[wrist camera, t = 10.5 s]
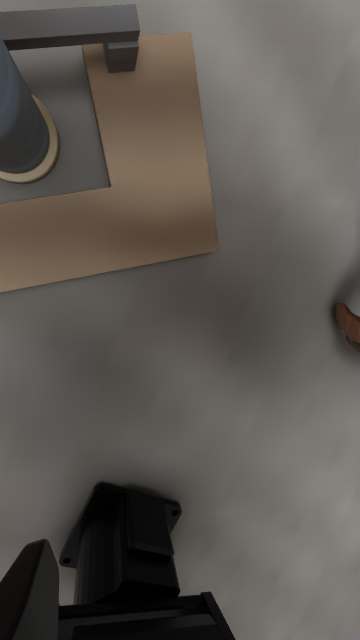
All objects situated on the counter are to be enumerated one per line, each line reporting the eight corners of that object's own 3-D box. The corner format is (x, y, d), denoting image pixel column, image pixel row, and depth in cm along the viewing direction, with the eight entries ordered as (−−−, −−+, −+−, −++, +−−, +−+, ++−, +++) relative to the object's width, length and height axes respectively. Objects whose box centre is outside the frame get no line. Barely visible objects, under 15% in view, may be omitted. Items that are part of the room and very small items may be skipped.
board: (210, 249, 19) (238, 254, 15) (-130, 313, 16) (-206, 340, 12) (183, 49, 17) (209, -10, 12) (-235, 84, 14) (-380, 21, 10)
